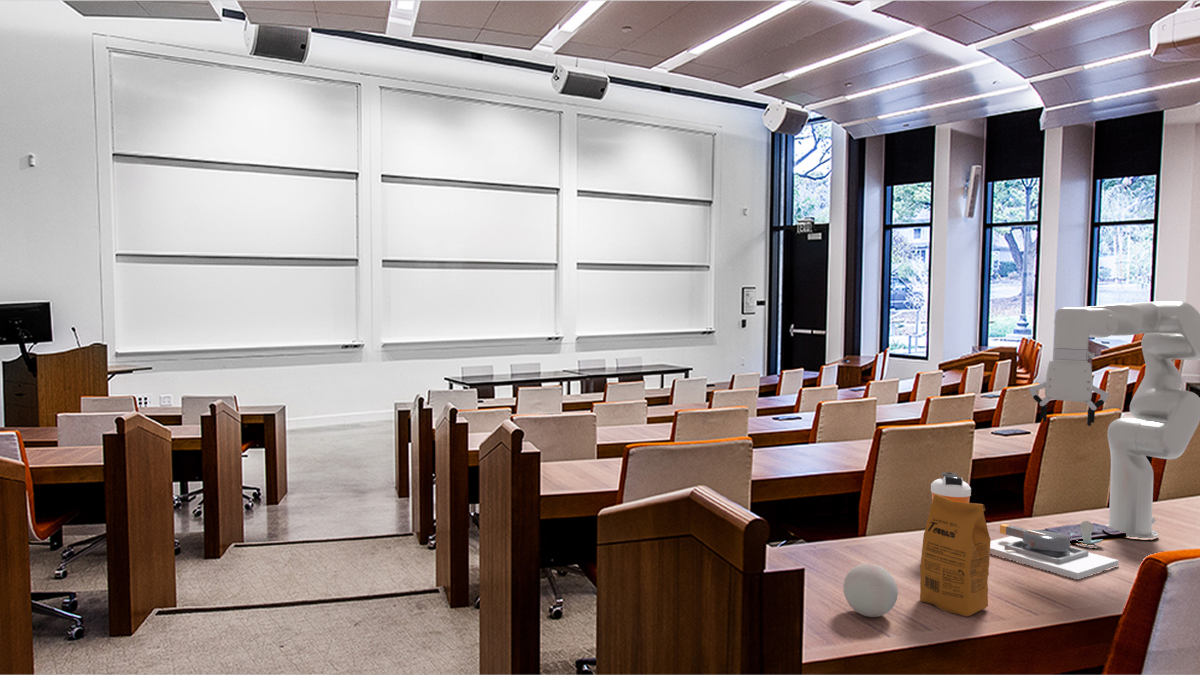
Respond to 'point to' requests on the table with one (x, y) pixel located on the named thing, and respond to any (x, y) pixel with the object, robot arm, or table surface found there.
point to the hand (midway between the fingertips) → (1066, 423)
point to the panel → (1052, 558)
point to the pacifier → (1087, 534)
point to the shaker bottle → (951, 488)
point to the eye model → (870, 590)
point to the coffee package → (955, 557)
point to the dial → (1040, 540)
